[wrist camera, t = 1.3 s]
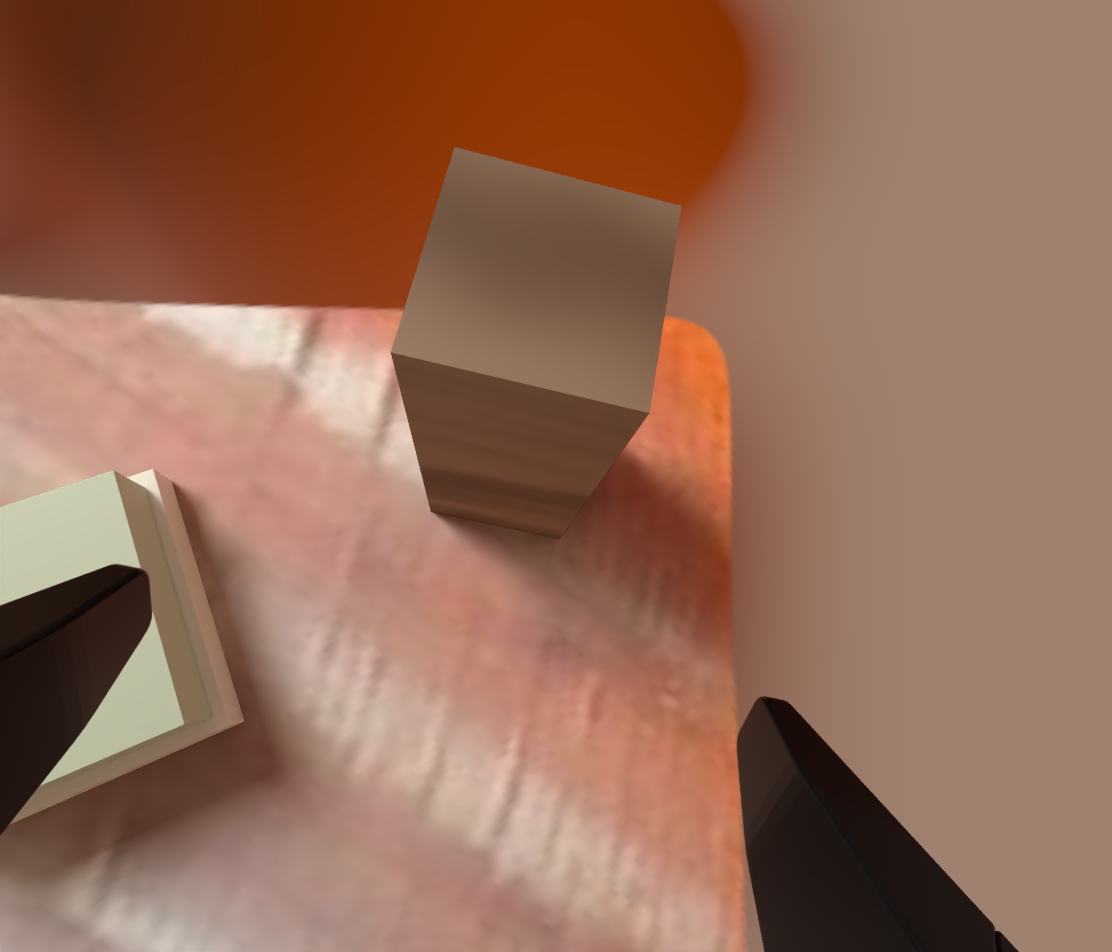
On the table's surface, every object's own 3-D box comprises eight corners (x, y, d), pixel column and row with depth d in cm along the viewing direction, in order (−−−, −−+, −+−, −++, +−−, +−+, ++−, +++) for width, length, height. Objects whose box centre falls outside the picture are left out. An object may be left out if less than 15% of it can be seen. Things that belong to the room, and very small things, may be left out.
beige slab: (250, 720, 21) (229, 725, 19) (-50, 851, 19) (-108, 872, 17) (178, 485, 23) (152, 468, 21) (-101, 580, 21) (-158, 571, 19)
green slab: (212, 718, 19) (184, 724, 17) (-84, 845, 17) (-152, 867, 15) (145, 487, 21) (113, 470, 19) (-131, 580, 19) (-197, 571, 17)
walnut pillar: (559, 539, 24) (649, 412, 12) (430, 511, 23) (391, 352, 11) (581, 421, 25) (681, 206, 13) (461, 393, 25) (454, 147, 13)
